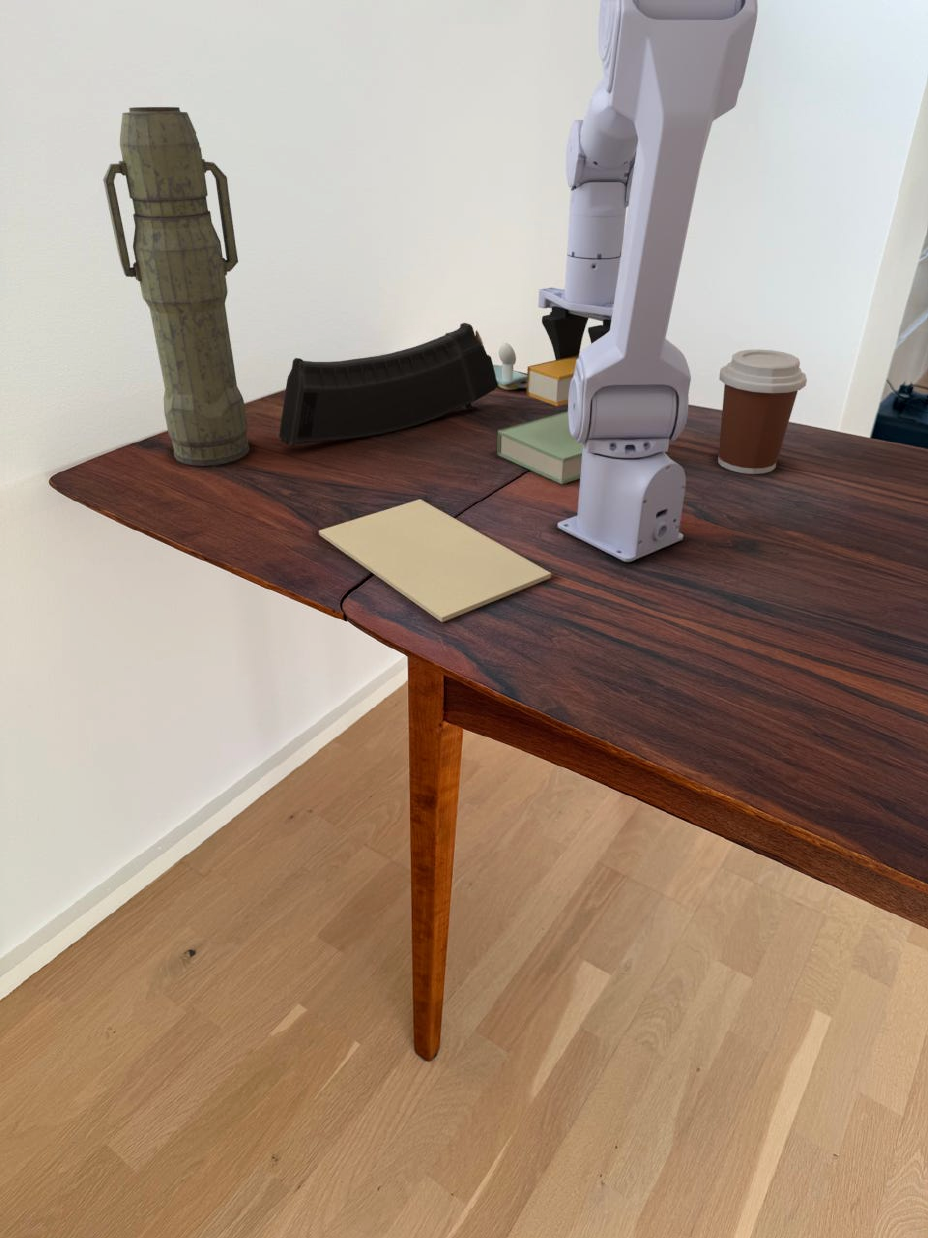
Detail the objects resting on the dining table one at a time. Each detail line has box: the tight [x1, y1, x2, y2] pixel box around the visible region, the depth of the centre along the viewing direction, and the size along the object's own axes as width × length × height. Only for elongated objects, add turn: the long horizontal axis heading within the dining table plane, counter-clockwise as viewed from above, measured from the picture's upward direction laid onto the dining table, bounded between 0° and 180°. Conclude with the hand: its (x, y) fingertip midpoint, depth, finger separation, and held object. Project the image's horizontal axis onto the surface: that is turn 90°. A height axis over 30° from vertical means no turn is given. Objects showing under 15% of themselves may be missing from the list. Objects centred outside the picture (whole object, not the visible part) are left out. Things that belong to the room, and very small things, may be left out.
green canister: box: [102, 106, 250, 467], centre depth 91 cm, size 9×12×35 cm
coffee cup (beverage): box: [717, 349, 808, 475], centre depth 94 cm, size 9×9×12 cm
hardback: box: [496, 410, 583, 485], centre depth 99 cm, size 16×11×3 cm
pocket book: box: [526, 355, 579, 407], centre depth 95 cm, size 13×5×3 cm, turn 128°
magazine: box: [278, 322, 498, 446], centre depth 105 cm, size 17×3×30 cm
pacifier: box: [493, 342, 527, 390], centre depth 121 cm, size 7×6×6 cm
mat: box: [318, 498, 552, 623], centre depth 78 cm, size 20×12×1 cm, turn 38°
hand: (584, 384), depth 96 cm, fingers closed on pocket book, 5 cm apart
